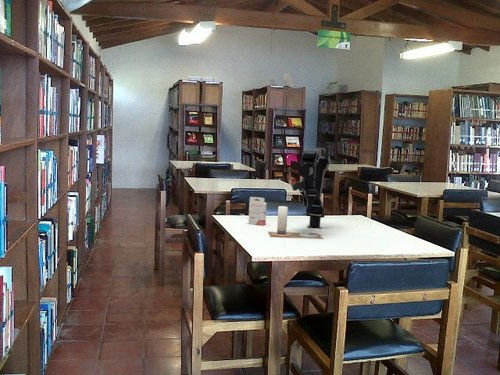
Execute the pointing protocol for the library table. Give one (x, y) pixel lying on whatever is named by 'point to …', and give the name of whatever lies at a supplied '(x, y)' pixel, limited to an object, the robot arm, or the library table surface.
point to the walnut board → (295, 235)
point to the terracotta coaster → (281, 235)
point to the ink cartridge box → (257, 211)
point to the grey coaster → (308, 235)
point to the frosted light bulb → (282, 220)
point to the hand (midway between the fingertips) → (307, 207)
